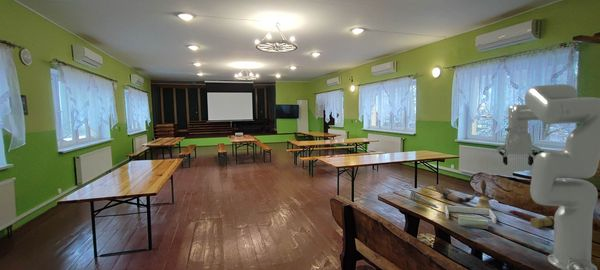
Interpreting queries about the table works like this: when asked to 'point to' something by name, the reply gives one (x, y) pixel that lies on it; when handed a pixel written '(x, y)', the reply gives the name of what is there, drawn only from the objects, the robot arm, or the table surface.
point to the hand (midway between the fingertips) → (517, 164)
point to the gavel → (535, 219)
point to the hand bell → (483, 198)
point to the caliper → (421, 198)
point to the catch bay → (470, 211)
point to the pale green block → (473, 221)
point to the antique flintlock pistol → (449, 195)
